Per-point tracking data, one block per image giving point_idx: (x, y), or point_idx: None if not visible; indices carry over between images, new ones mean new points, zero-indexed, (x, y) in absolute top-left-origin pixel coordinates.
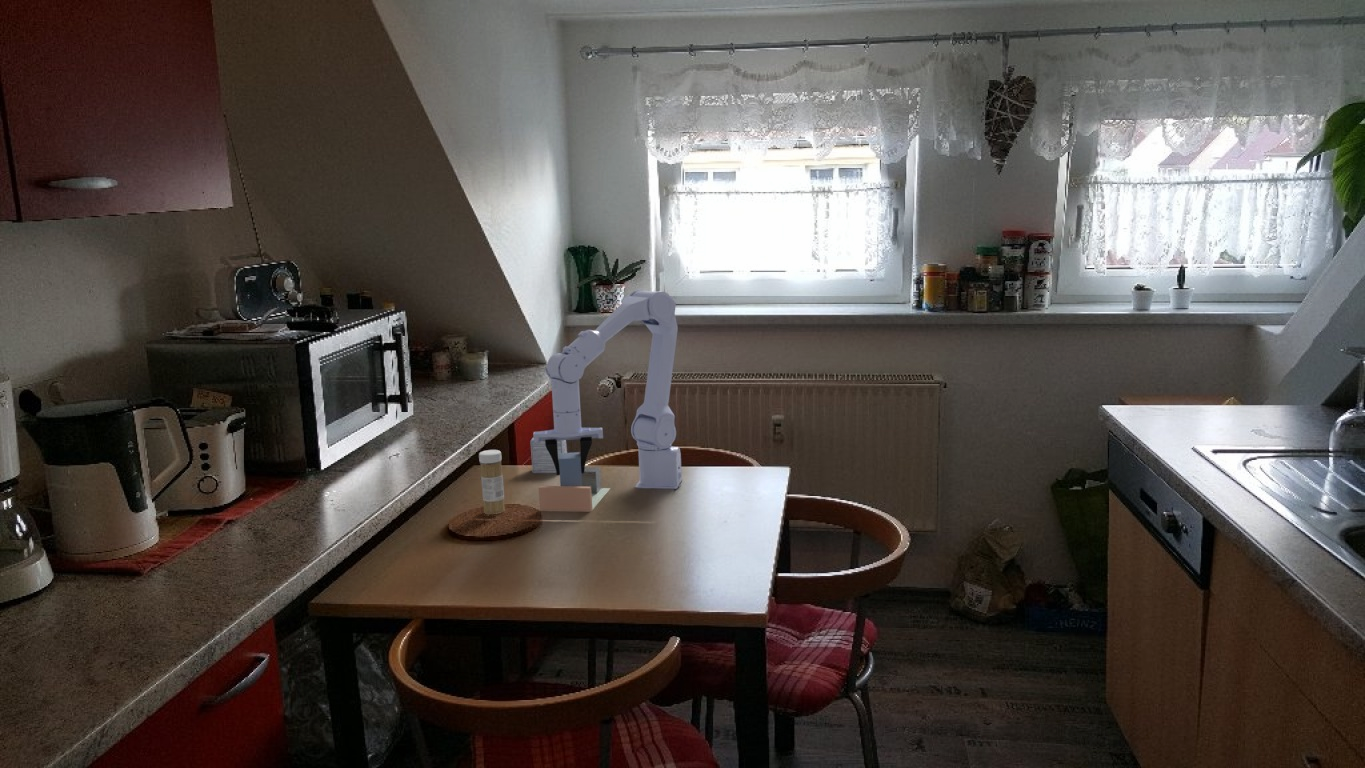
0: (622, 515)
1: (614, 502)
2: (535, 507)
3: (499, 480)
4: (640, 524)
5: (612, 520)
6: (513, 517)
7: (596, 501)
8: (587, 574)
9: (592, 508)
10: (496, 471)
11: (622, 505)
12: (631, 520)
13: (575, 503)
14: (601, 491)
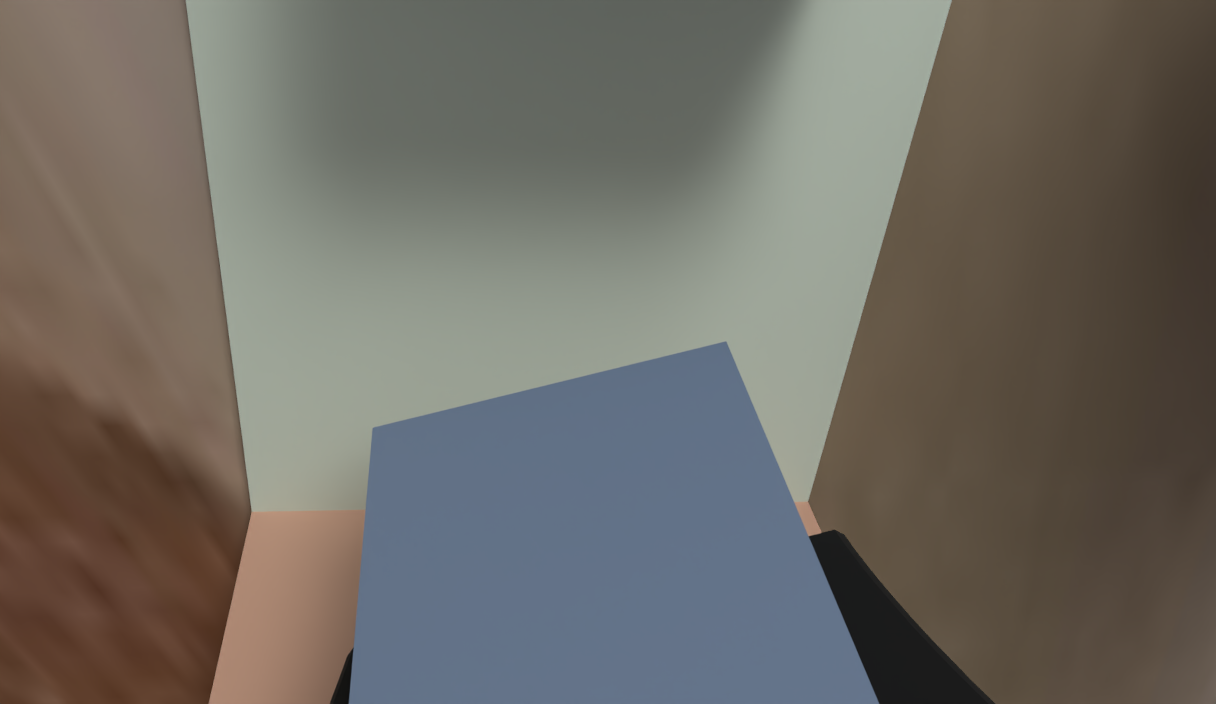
0: (1062, 553)
1: (1044, 206)
2: (113, 399)
3: None
4: (1155, 692)
5: (968, 649)
6: (43, 665)
7: (844, 257)
8: None
9: (807, 474)
10: None
11: (1113, 306)
12: (1111, 637)
13: None
14: None
